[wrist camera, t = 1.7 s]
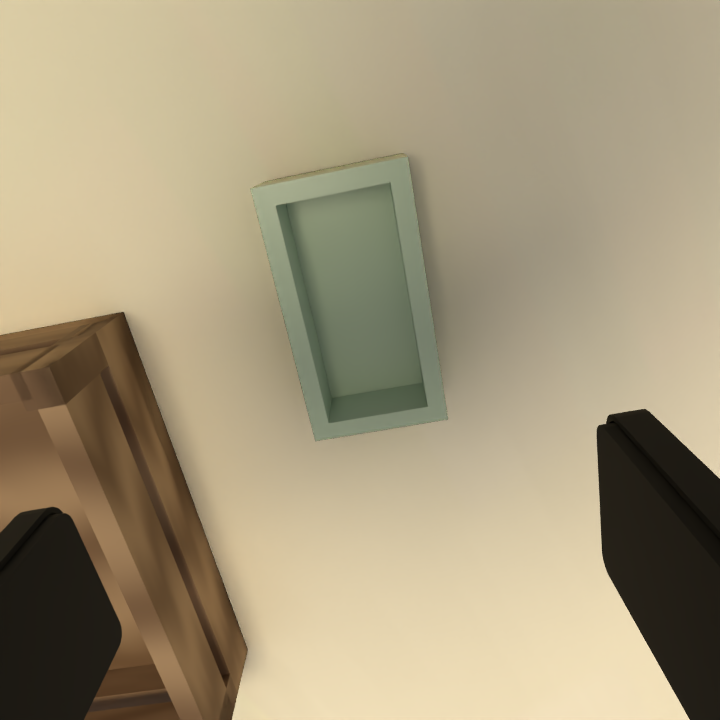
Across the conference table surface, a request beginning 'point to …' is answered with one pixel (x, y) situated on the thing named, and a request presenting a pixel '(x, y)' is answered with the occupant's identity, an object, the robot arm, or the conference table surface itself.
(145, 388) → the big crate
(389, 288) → the box
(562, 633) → the conference table surface
